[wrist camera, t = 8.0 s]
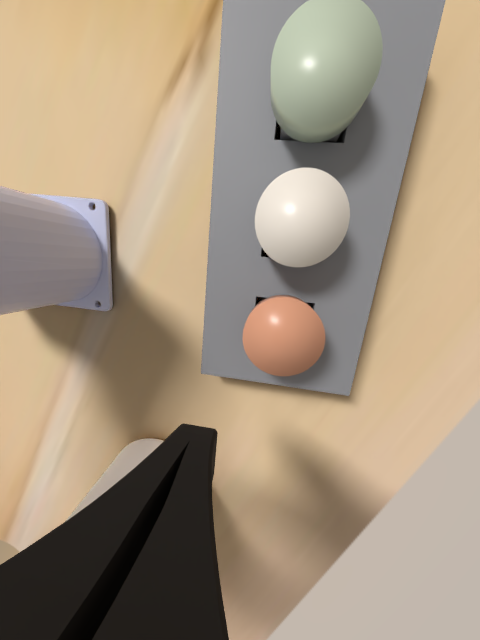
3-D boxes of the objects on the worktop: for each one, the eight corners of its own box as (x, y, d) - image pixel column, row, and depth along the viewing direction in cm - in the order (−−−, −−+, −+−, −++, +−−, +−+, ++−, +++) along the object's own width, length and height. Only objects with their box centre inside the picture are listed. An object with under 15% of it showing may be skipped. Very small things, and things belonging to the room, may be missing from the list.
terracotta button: (246, 344, 17) (238, 370, 13) (252, 286, 16) (246, 294, 12) (305, 352, 17) (317, 381, 13) (316, 293, 16) (332, 303, 12)
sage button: (266, 163, 14) (264, 123, 10) (275, 76, 13) (278, -8, 9) (339, 167, 14) (368, 128, 10) (355, 78, 13) (395, -9, 9)
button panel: (338, 377, 18) (349, 395, 15) (209, 359, 19) (200, 373, 16) (413, 45, 13) (446, -6, 10) (231, 43, 14) (223, -4, 11)
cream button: (255, 262, 16) (250, 262, 12) (263, 191, 15) (260, 164, 11) (320, 269, 16) (339, 271, 11) (333, 196, 14) (359, 170, 10)
